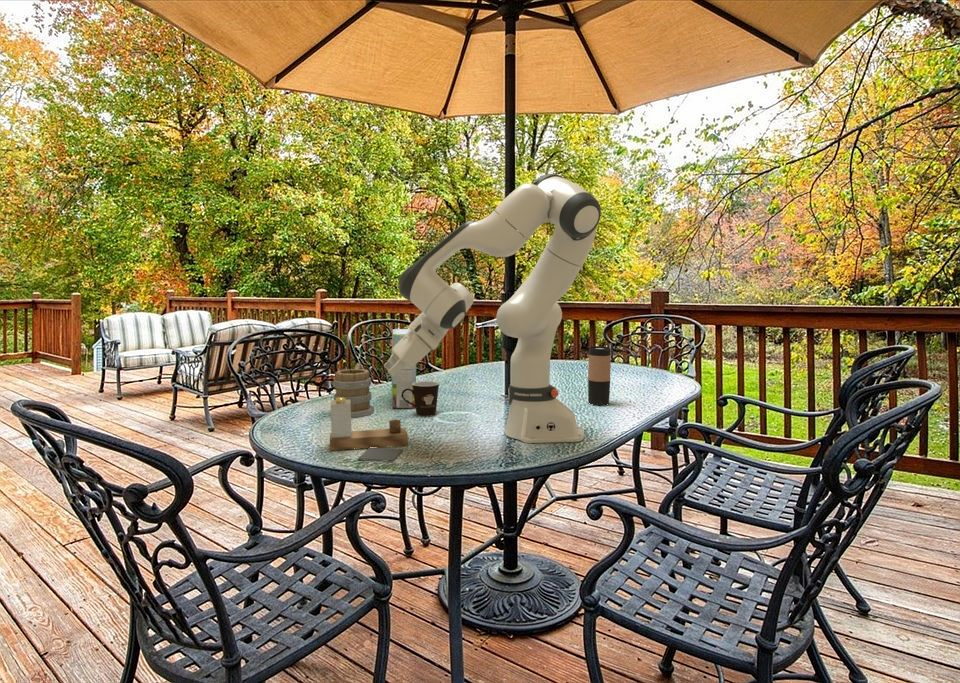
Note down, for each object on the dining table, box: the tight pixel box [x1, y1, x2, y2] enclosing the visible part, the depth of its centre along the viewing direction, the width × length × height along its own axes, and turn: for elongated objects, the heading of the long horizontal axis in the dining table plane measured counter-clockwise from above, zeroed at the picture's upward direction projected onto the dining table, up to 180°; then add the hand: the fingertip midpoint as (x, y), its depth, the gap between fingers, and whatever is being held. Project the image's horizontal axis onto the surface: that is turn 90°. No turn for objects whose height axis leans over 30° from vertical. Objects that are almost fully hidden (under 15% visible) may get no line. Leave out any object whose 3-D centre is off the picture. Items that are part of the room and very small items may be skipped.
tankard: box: [332, 362, 375, 419], centre depth 187 cm, size 20×13×15 cm, turn 179°
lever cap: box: [330, 397, 352, 439], centre depth 147 cm, size 5×5×10 cm
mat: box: [357, 447, 404, 462], centre depth 141 cm, size 9×9×1 cm
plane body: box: [329, 419, 409, 451], centre depth 149 cm, size 20×7×6 cm, turn 103°
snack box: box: [391, 328, 417, 409], centre depth 199 cm, size 22×9×26 cm, turn 9°
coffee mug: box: [402, 380, 440, 417], centre depth 183 cm, size 12×9×10 cm
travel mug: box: [587, 345, 612, 406], centre depth 196 cm, size 8×8×20 cm
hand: (387, 371), depth 147 cm, fingers open, 8 cm apart
